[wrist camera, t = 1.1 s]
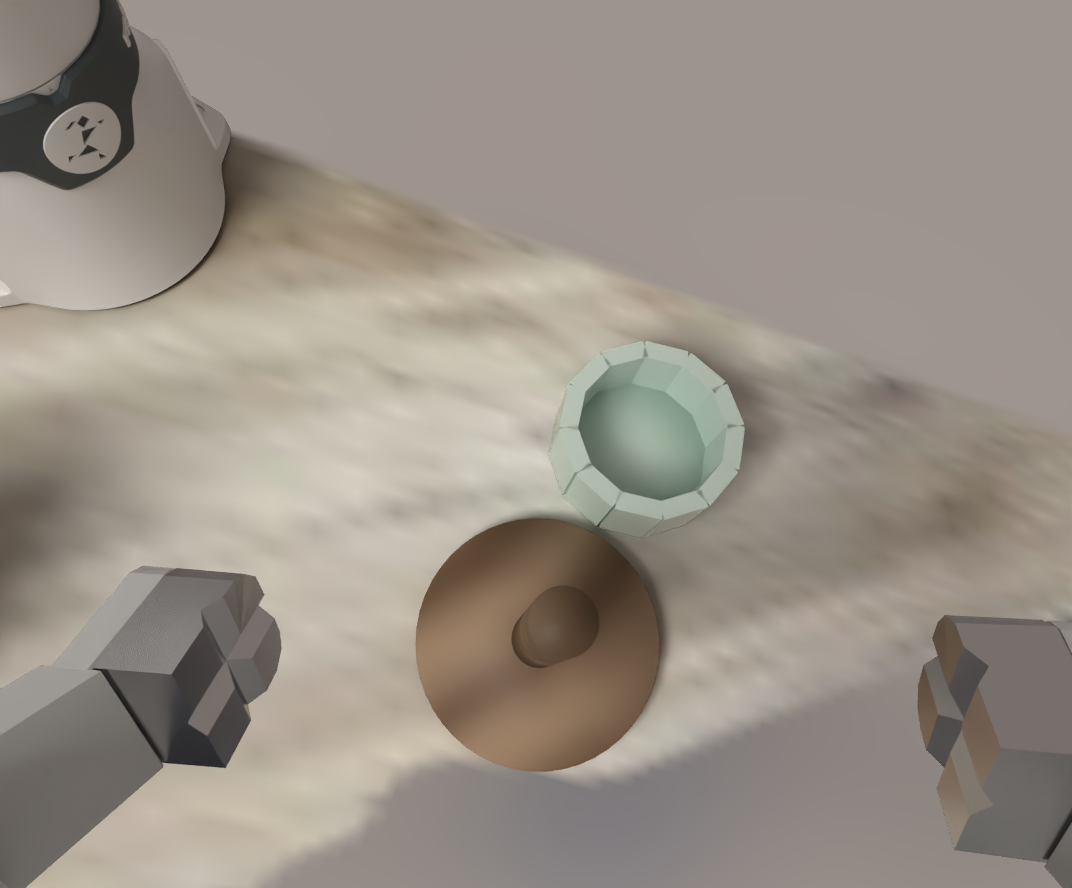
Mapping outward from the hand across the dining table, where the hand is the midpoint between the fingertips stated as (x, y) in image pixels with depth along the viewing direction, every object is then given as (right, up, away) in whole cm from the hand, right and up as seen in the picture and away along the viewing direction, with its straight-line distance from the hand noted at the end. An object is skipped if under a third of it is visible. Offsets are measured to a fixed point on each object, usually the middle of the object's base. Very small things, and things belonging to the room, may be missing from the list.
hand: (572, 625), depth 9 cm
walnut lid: (0, -9, +32) cm, 33 cm away
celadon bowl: (+5, +2, +36) cm, 36 cm away
